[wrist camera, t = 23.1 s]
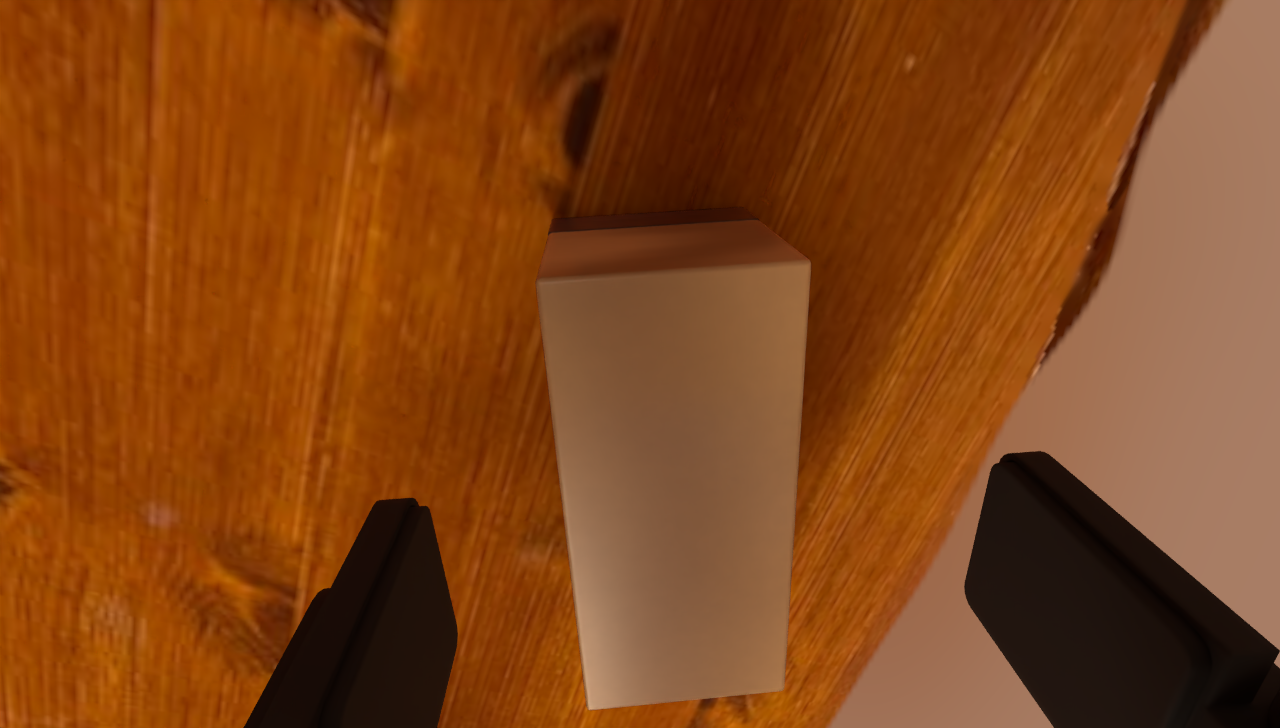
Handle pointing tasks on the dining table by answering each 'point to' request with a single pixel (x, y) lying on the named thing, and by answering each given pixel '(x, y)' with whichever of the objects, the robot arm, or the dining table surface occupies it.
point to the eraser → (676, 446)
